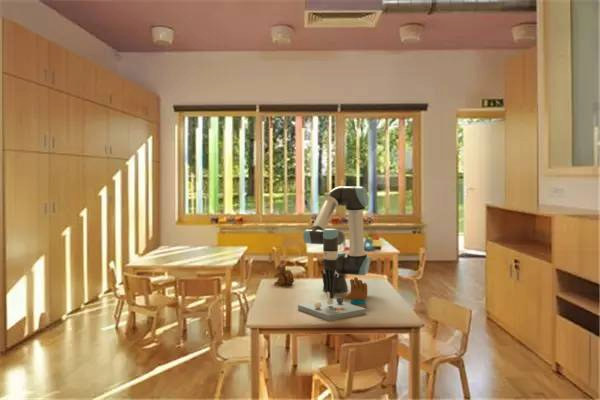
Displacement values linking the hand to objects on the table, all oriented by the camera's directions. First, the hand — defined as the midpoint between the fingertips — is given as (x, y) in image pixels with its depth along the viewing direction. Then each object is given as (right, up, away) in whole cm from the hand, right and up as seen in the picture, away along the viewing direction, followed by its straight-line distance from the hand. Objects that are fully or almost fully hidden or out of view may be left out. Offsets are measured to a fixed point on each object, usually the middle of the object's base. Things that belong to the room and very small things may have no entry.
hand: (330, 304), depth 258 cm
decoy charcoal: (+5, +1, +5) cm, 8 cm away
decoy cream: (-7, +1, -5) cm, 8 cm away
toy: (+15, -3, +16) cm, 22 cm away
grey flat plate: (+1, -4, -1) cm, 4 cm away
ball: (+4, -2, -7) cm, 8 cm away
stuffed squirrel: (-26, -1, +68) cm, 73 cm away
